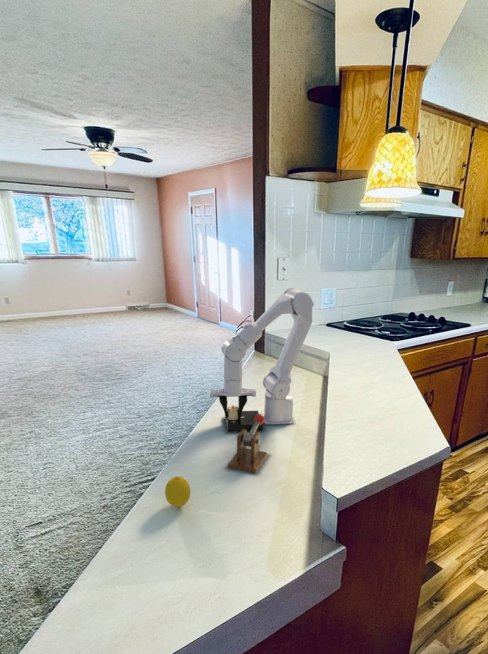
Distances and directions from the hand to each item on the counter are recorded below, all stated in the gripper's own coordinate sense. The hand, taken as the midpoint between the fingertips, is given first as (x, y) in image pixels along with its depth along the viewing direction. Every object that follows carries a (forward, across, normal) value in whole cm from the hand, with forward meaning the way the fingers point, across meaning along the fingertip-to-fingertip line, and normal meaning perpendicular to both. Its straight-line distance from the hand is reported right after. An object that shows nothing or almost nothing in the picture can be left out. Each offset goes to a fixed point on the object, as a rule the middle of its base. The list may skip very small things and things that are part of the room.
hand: (232, 416), depth 134 cm
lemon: (+3, +16, +42) cm, 45 cm away
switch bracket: (+3, -2, +24) cm, 24 cm away
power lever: (-4, -4, +20) cm, 21 cm away
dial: (0, 0, 0) cm, 0 cm away
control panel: (+3, -4, 0) cm, 5 cm away
